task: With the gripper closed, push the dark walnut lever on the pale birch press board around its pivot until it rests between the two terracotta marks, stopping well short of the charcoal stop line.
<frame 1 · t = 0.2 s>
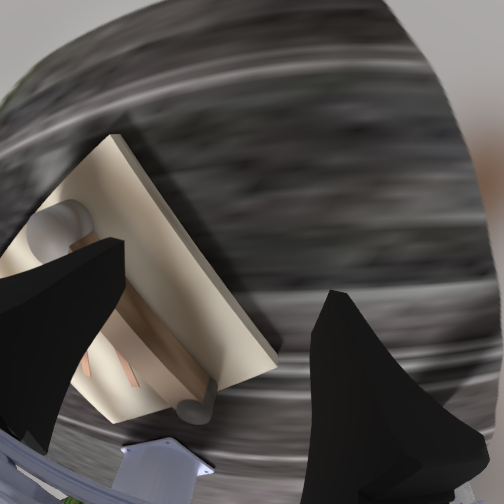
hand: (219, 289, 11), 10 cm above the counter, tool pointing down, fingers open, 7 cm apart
press board: (109, 311, 24), on the counter
lever: (126, 321, 20), point 4 cm above the counter, hinge at 0.0°
syrup box: (408, 413, 26), on the counter
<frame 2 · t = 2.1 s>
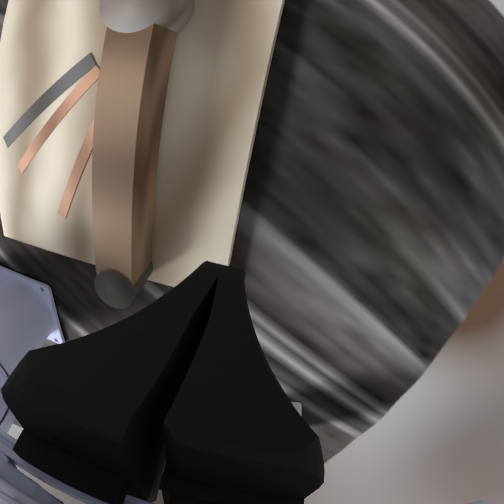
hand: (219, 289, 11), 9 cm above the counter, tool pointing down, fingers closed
press board: (100, 121, 17), on the counter
lever: (126, 146, 14), point 4 cm above the counter, hinge at 0.0°
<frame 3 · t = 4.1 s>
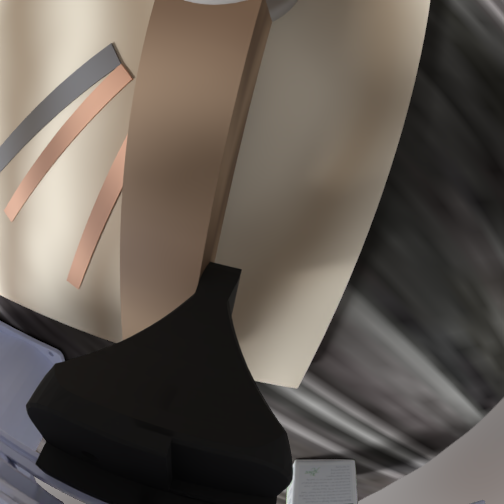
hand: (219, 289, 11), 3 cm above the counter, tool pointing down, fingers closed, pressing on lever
press board: (126, 152, 12), on the counter
lever: (178, 211, 9), point 4 cm above the counter, hinge at 2.4°, touching gripper
syrup box: (320, 467, 25), on the counter
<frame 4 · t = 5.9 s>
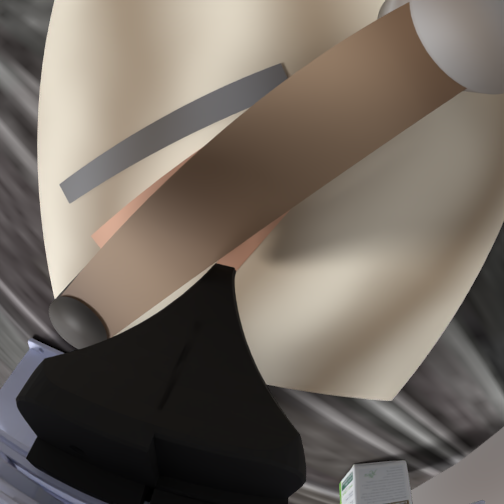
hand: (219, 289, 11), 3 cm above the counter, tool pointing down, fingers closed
press board: (266, 182, 12), on the counter
lever: (241, 174, 9), point 4 cm above the counter, hinge at 38.6°, touching gripper
syrup box: (372, 470, 25), on the counter
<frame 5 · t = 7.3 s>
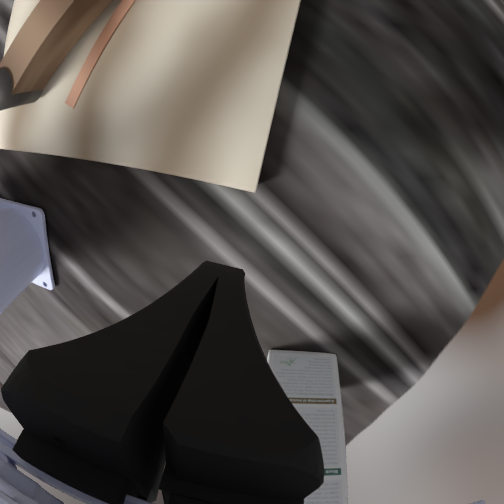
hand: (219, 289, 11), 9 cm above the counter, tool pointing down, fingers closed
press board: (129, 6, 13), on the counter
syrup box: (299, 370, 26), on the counter
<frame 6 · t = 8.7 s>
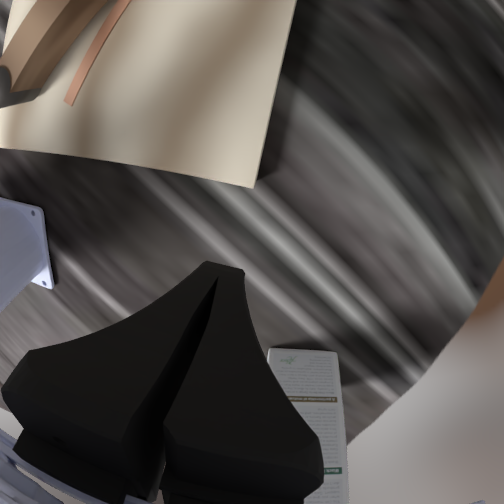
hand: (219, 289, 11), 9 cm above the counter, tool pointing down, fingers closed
press board: (126, 4, 13), on the counter
syrup box: (300, 368, 26), on the counter
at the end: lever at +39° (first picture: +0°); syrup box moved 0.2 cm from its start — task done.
